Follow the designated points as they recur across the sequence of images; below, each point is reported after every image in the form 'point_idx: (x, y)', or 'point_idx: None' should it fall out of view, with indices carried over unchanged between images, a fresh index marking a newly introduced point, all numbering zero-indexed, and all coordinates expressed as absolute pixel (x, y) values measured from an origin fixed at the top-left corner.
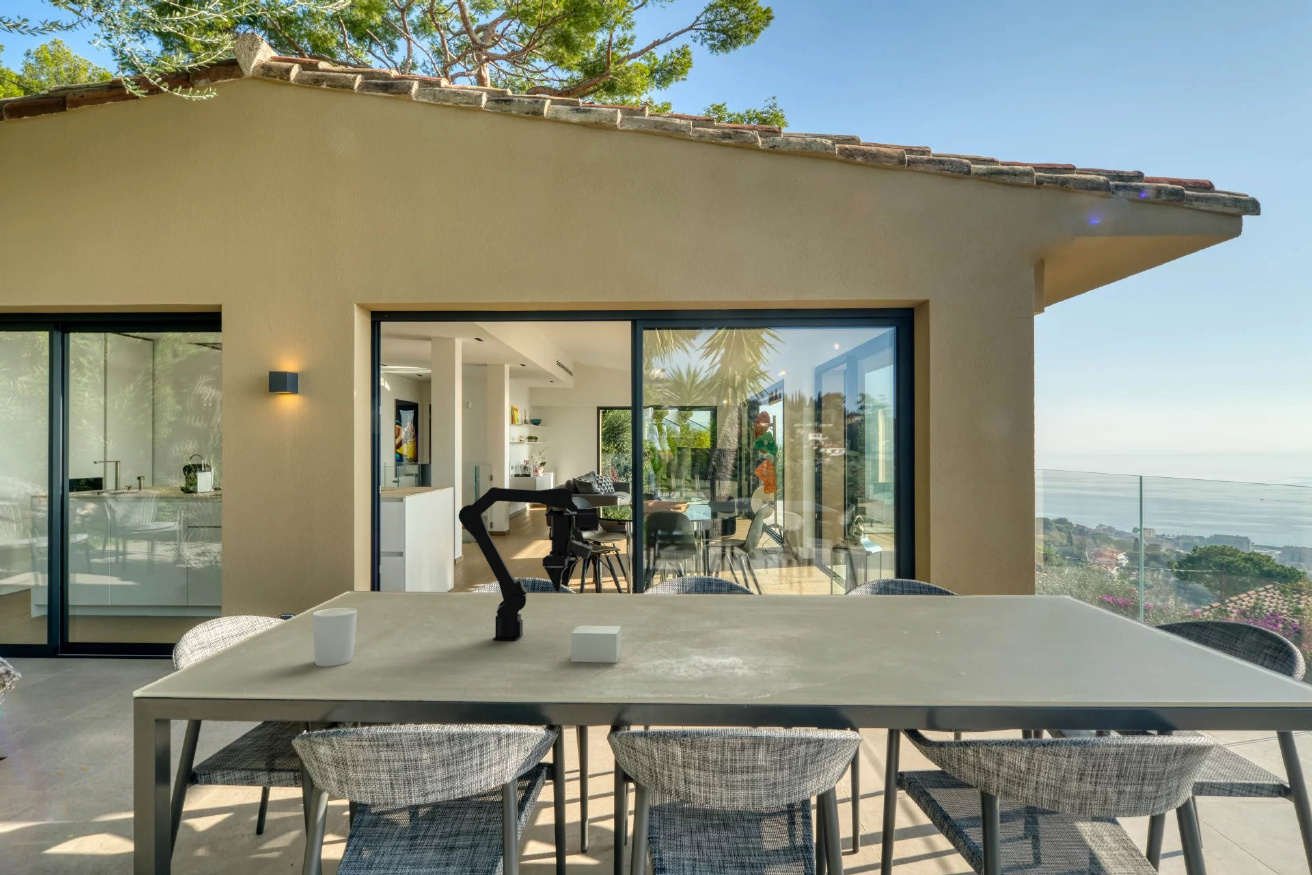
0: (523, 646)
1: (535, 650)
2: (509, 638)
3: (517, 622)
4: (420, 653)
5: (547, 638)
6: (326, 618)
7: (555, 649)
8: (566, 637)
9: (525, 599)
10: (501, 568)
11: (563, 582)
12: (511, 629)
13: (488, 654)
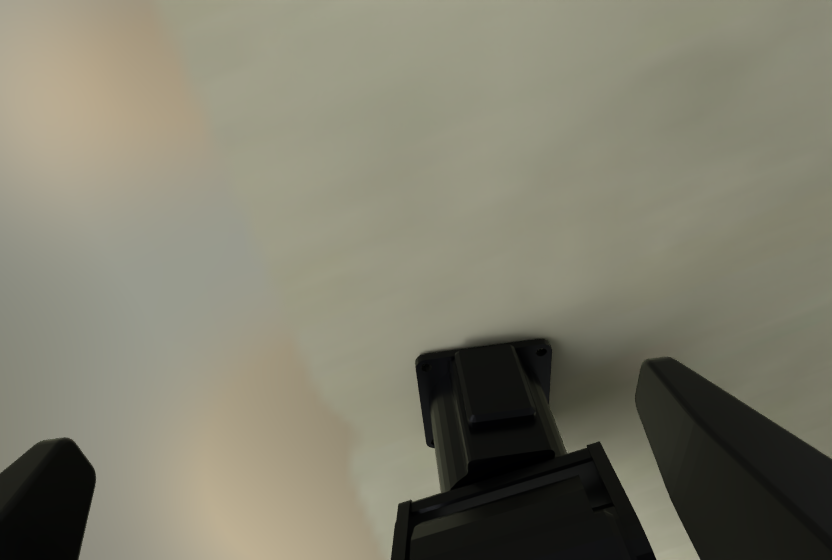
0: (663, 257)
1: (768, 155)
2: (544, 372)
3: (540, 415)
4: None
5: (467, 197)
6: None
7: (771, 25)
8: (419, 71)
9: (618, 531)
10: None
11: (79, 522)
12: (544, 404)
13: (795, 343)
